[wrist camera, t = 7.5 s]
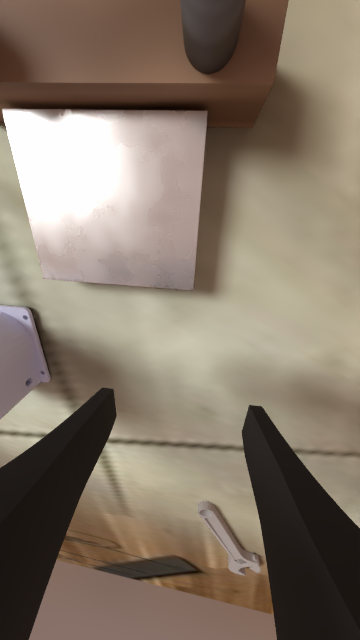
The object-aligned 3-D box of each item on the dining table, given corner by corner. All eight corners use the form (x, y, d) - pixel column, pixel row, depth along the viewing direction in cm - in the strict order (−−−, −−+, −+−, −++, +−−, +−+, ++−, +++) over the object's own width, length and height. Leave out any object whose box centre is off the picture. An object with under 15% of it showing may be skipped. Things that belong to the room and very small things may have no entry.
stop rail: (252, 127, 12) (306, 15, 6) (-8, 122, 14) (-190, 25, 7) (263, 58, 11) (345, -174, 5) (-24, 59, 12) (-262, -124, 6)
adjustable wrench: (195, 497, 32) (194, 511, 31) (233, 494, 31) (235, 509, 29) (231, 562, 41) (232, 576, 39) (262, 562, 40) (264, 576, 38)
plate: (194, 281, 17) (193, 290, 15) (67, 272, 18) (43, 278, 15) (206, 136, 13) (207, 110, 10) (40, 132, 14) (1, 108, 11)
